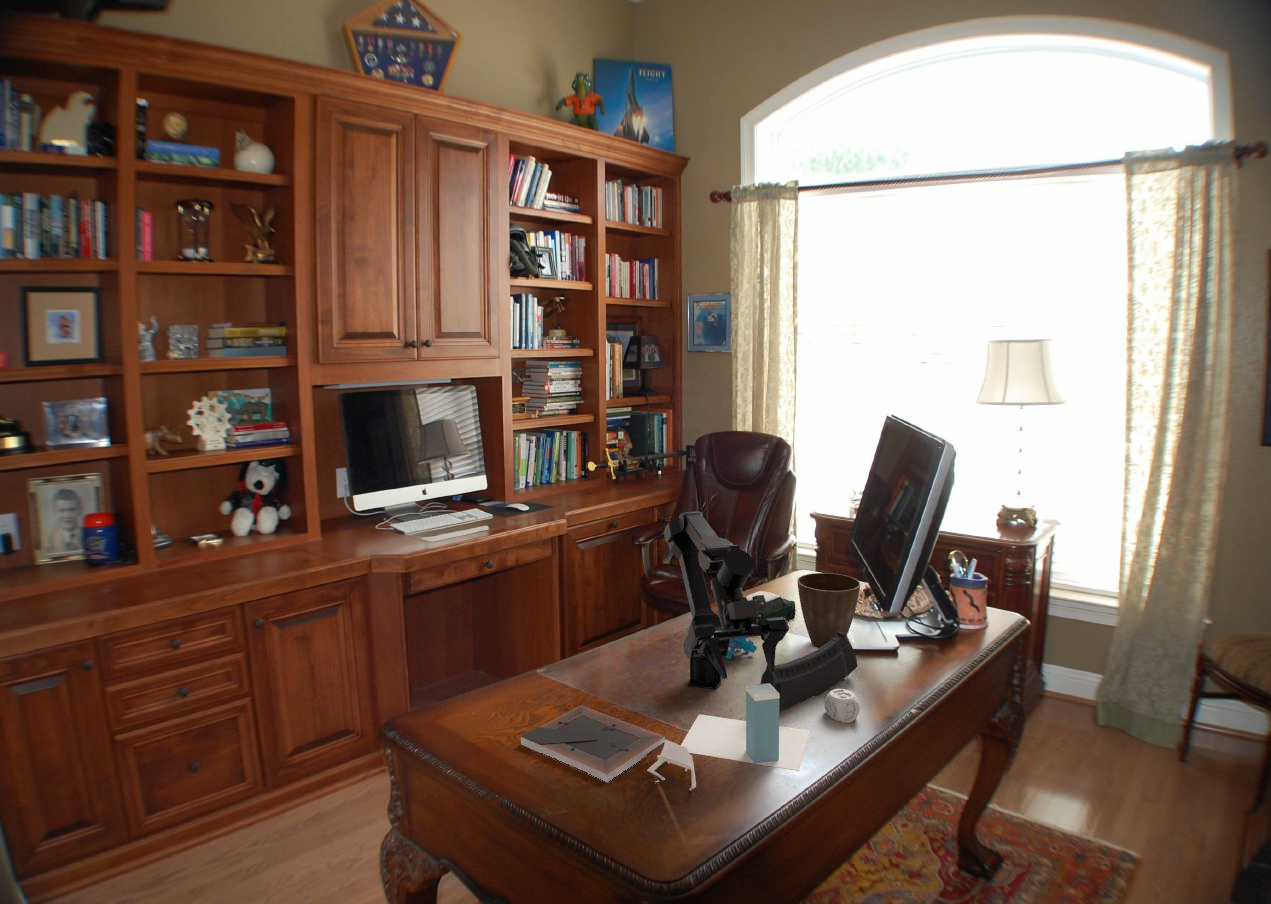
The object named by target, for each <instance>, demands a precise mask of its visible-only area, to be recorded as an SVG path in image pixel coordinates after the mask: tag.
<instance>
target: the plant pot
mask: <svg viewBox="0 0 1271 904" xmlns="http://www.w3.org/2000/svg"><path fill="white" fill-rule="evenodd" d="M860 589H861V582H860V581H859V580H858V579H857V578H855V577H852V576H850V575H845V574H839V573H833V572H813V573H807V574H804V575H801V576H799V577H797V591H798V598H799V602H800V603H799V604H800V609H801V612H802V617H803V618H802V619H803V622H804V624H805V625H804V626H805V628H806V631H807V634H808V637H809V640H810V643H811V645H812V646H813V647H815V648H817V649H819V648H820V647H822V646H823V645H825V644H826V643H828V642H829V641H830V640H831V639H832V638H834V637H836V636H837V633H838V632H843V633H845V634H846V636H848V634H849V631H850V628H851V626H852V622H853V619H854V616H855V612H856V609H857V605H858V599H859V595H860Z"/></svg>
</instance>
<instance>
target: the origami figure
mask: <svg viewBox="0 0 1271 904" xmlns="http://www.w3.org/2000/svg"><path fill="white" fill-rule="evenodd" d="M656 757H657V761H655V762H654V763H653V764H652V765H651V766H649V767H648V769H647V770H646V771H647V772H649V773H651V774H652V775H654V776H655V777H658V778H660V780H661V781H666V778H665V777H663V776H662V775H661V774H659V773H658V772H657V771H656V770H657V769H658V768H659V767H660V766H661V765H663V764H664V763H665V762H667V764H668V765H670V764H673V765H676V766H679V767H682V768H684V771H685V772H687V773H688V770H690V772H691V786H690V788H689V791H692V790H694V789H695V788H696V787H697V781H696V773H695V772H696V771H695V767H694V759H693V755H692V753H689V752H688V750H687V748H686V747H683V746H681V744H678V743H675V742H673V741H671V740H668V739H665V742H664V743H663V748H662V750H661V752H660V754H658V755H656ZM660 780H659V779H658V780H655V782H660Z"/></svg>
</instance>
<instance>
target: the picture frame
mask: <svg viewBox="0 0 1271 904" xmlns="http://www.w3.org/2000/svg"><path fill="white" fill-rule="evenodd" d="M665 740H666V736H665V735H662V734H659V733H656V732H654V731H651V730H649V729H646V728H644V727H641V726H638V725H635V724H632V723H630V722H627V721H625V720H622V719H619V718H616V717H614V716H612V715H611V716H610V715H608V714H605V713H603V712H600V711H597V710H595V709H592V708H590V707H587V706H585V705H582V704H580V705H577V706H576V707H574V708H572V709H570V710H568V711H566V712H565V713H562V714H561V715H559V716H557V717H554V718H553V719H552V720H550V721H547V722H546V723H543V724H541V725H540V726H537V727H535V728H532V729H531V730H529V731H527V732H525V733H524V734H522V735H521V736H520V745H522V746H524V747H526V748H528V749H530V750H532V751H534V752H537V753H540V754H541V753H543V754H542V755H544V754H545V755H544V756H546V755H547V756H546V757H548V756H550V757H552V758H551V759H553V758H556V759H557V760H559V761H562V762H564V763H566V764H569V765H571V766H574V767H576V768H578V769H580V770H583V771H585V772H587V773H588V774H587V775H589V774H591V775H592V776H591V775H590V776H591V777H593V776H594V777H593V778H595V777H597V778H596V779H598V778H599V779H598V780H600V779H601V780H600V781H602V780H603V781H602V782H604V781H605V782H604V783H607V784H608V783H610V782H611V781H613V780H614V779H615V778H614V777H616V776H617V777H619V776H620V775H622V774H623V773H624V772H623V771H625V770H626V771H628V770H629V769H631V768H632V767H634V766H635V765H637V764H638V763H639V762H638V761H640V760H641V759H642V758H644V757H646V756H647V755H648V753H650V752H651V751H653V750H655V749H657V748H658V747H659V746H661V745H662V744H664V743H665ZM550 757H549V758H550ZM647 757H648V756H647ZM647 757H646V758H647ZM644 759H645V758H644ZM557 760H556V761H557ZM559 761H558V762H559ZM641 761H642V760H641ZM641 761H640V762H641ZM562 762H561V763H562ZM637 762H638V763H637ZM564 763H563V764H564ZM636 763H637V764H636ZM566 764H565V765H566ZM634 764H635V765H634ZM633 765H634V766H633ZM571 766H570V767H571ZM631 766H632V767H631ZM630 767H631V768H630ZM628 768H629V769H628ZM627 769H628V770H627ZM580 770H579V771H580ZM626 771H625V772H626ZM622 772H623V773H622ZM621 773H622V774H621ZM619 774H620V775H619ZM618 775H619V776H618ZM617 777H616V778H617ZM613 778H614V779H613ZM612 779H613V780H612ZM610 780H611V781H610ZM609 781H610V782H609Z"/></svg>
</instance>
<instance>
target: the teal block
mask: <svg viewBox="0 0 1271 904" xmlns="http://www.w3.org/2000/svg"><path fill="white" fill-rule="evenodd" d="M745 692H746V693H745V696H746V697H745V708H746V709H745V721H746V752H747V753H748V755H749V756H750V757H751V759H752V760H753V762H754V763H753V764H755V763H763V762H770V761H778V760H779V726H780V711H779V698H780V694H779V693H778V692H777V691H776V689H775V688H774V687H773V686H772V685H771V684H770V683H767V684H760V683H759V684H751V685H746V686H745Z"/></svg>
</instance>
